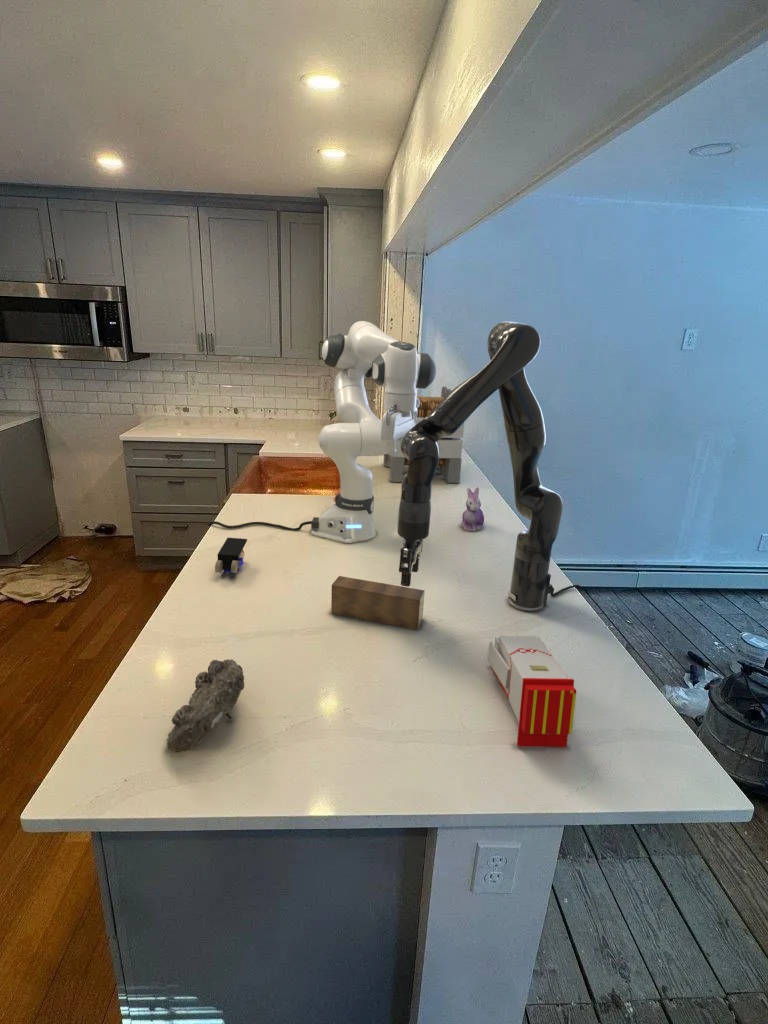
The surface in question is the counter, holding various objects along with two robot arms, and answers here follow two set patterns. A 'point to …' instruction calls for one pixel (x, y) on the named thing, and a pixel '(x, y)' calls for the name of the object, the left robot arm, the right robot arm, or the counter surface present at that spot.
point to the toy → (534, 690)
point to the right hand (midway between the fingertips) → (409, 578)
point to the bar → (377, 602)
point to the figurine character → (230, 556)
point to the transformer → (447, 445)
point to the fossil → (206, 705)
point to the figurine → (473, 512)
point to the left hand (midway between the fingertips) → (398, 452)
